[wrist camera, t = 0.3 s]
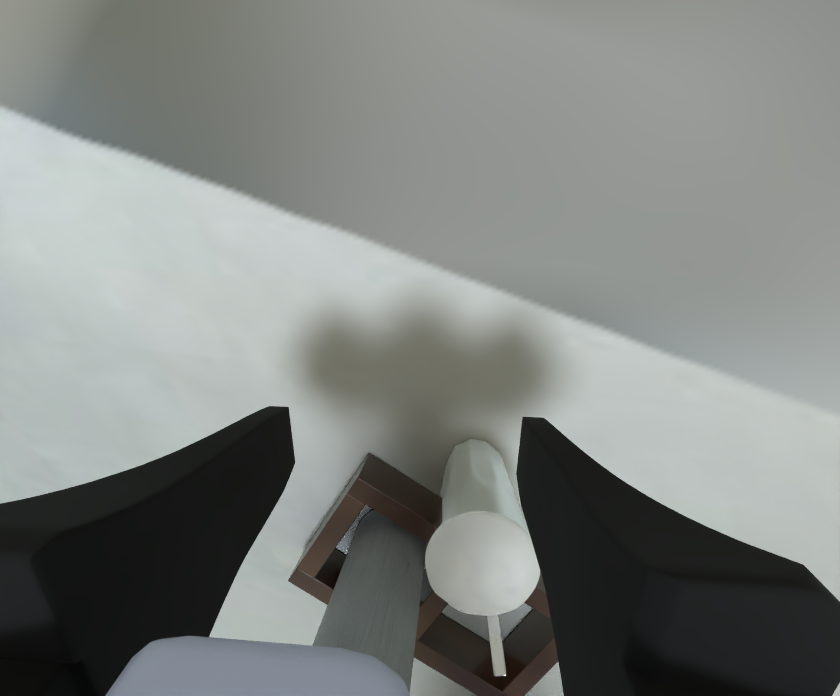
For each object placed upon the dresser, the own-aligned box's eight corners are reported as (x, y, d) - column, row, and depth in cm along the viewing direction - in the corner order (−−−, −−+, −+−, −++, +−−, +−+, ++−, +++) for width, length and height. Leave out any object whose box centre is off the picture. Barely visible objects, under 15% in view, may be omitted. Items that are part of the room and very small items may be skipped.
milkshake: (447, 513, 25) (438, 680, 15) (429, 434, 23) (408, 558, 14) (521, 504, 24) (563, 672, 14) (506, 422, 23) (541, 543, 13)
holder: (502, 667, 27) (507, 714, 24) (305, 547, 26) (287, 581, 23) (580, 584, 25) (595, 624, 22) (369, 452, 24) (357, 477, 21)
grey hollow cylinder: (353, 559, 26) (286, 748, 16) (361, 499, 25) (294, 660, 15) (421, 572, 26) (397, 773, 16) (432, 512, 25) (413, 686, 15)
